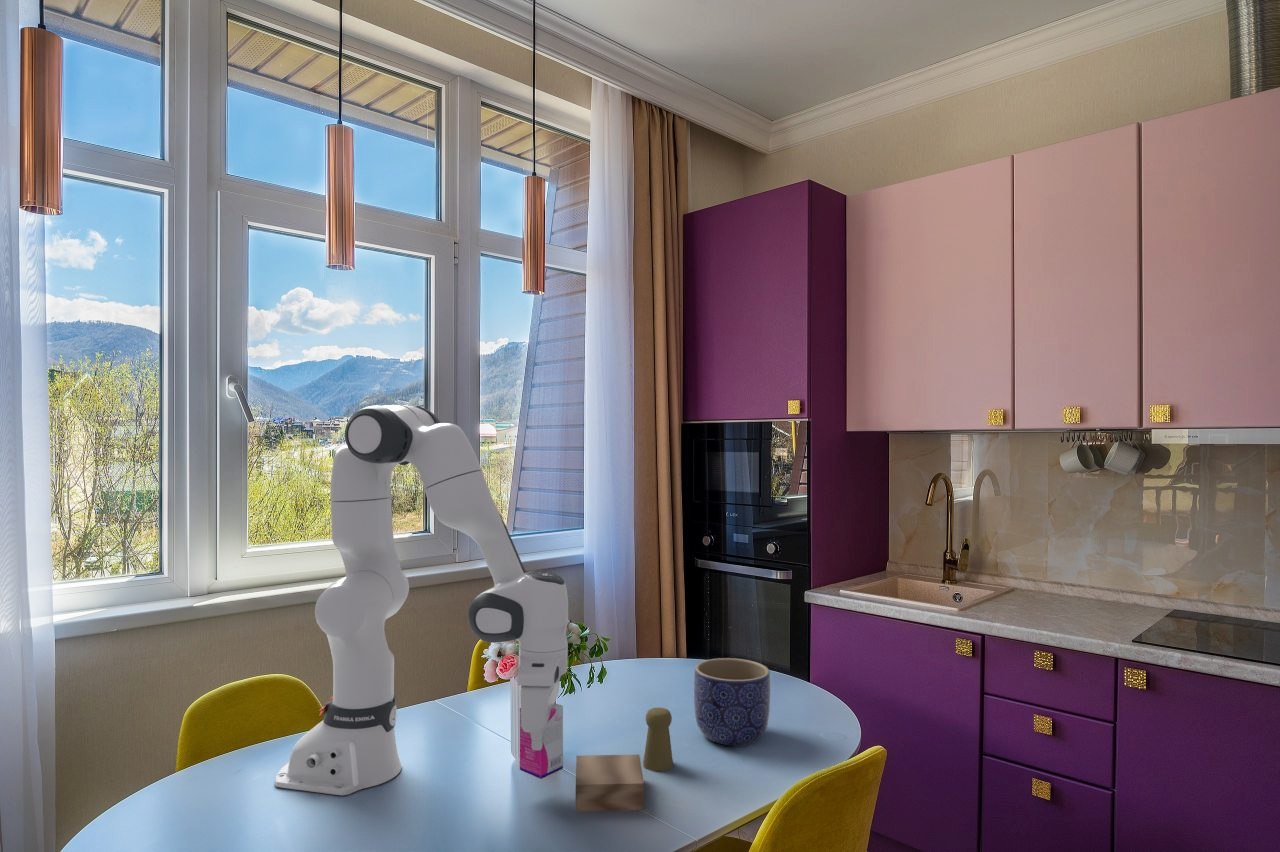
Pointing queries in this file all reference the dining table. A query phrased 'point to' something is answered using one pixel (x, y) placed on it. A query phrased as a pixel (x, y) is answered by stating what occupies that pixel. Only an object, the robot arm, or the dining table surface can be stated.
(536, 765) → the supplement box
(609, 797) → the walnut block
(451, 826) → the dining table surface
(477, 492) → the robot arm
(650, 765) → the olive pawn
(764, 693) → the planter
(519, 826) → the dining table surface
